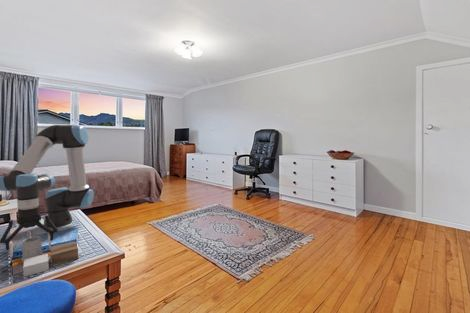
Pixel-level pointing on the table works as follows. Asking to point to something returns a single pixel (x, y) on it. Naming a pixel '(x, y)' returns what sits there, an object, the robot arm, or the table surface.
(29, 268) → the grey block
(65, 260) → the walnut block
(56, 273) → the table surface
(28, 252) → the mug
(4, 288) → the table surface
